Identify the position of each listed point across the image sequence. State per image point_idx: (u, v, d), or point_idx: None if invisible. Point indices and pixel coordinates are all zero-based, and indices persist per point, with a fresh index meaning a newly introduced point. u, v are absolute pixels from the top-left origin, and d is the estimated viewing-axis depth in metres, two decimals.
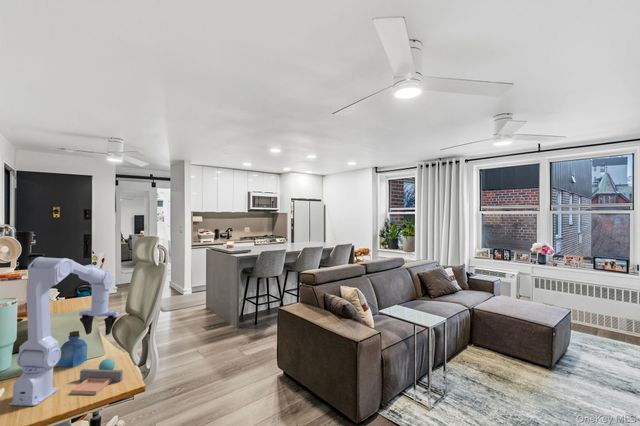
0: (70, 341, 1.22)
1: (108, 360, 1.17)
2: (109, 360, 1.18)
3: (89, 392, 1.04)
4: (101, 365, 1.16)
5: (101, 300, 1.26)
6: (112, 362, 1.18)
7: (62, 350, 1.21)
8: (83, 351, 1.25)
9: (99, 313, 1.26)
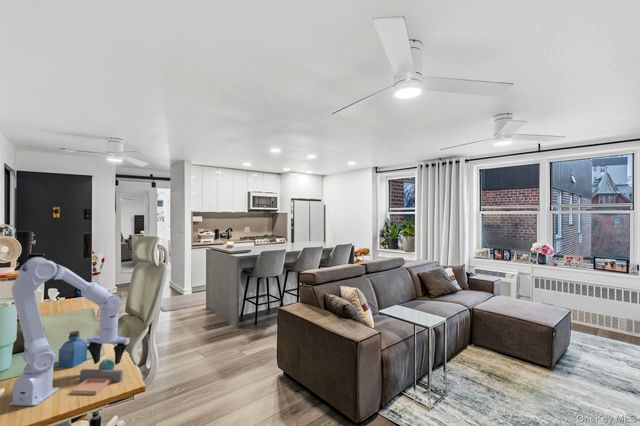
0: (70, 341, 1.22)
1: (108, 360, 1.17)
2: (109, 360, 1.18)
3: (89, 392, 1.04)
4: (101, 365, 1.16)
5: (104, 327, 1.15)
6: (112, 362, 1.18)
7: (62, 350, 1.21)
8: (83, 351, 1.25)
9: (108, 341, 1.15)
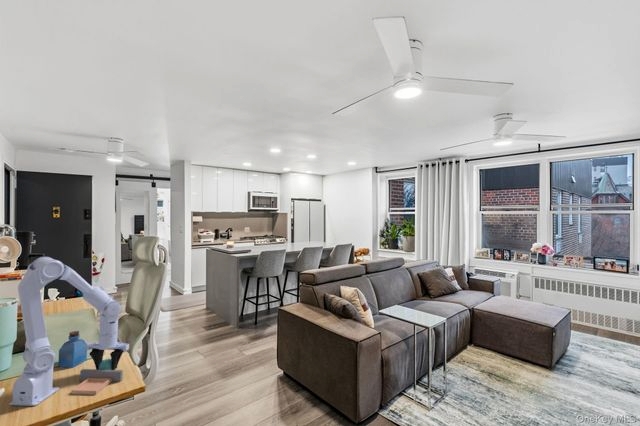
0: (70, 341, 1.22)
1: (108, 360, 1.17)
2: (109, 360, 1.18)
3: (89, 392, 1.04)
4: (101, 365, 1.16)
5: (104, 333, 1.15)
6: None
7: (62, 350, 1.21)
8: (83, 351, 1.25)
9: (108, 347, 1.15)
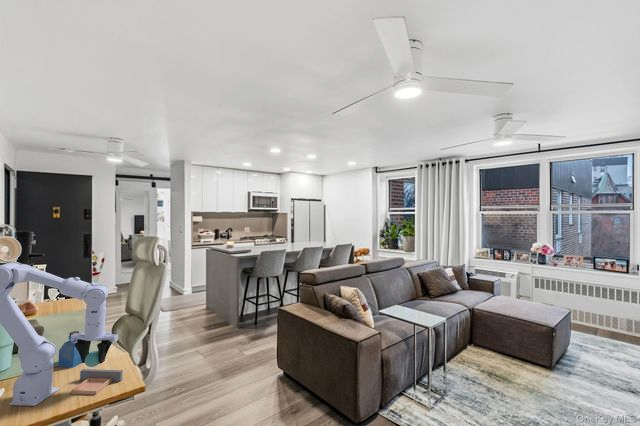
0: (70, 341, 1.22)
1: (95, 352, 1.08)
2: (96, 352, 1.08)
3: (89, 392, 1.04)
4: (87, 358, 1.06)
5: (86, 322, 1.05)
6: None
7: (62, 350, 1.21)
8: None
9: (94, 338, 1.05)
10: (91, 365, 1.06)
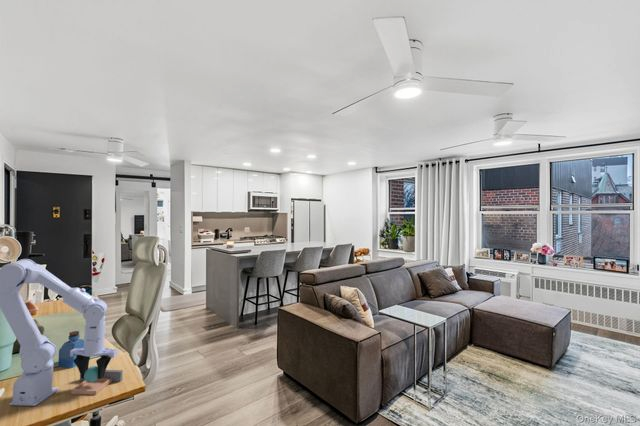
0: (70, 341, 1.22)
1: (94, 368, 1.08)
2: (95, 368, 1.08)
3: (89, 392, 1.04)
4: (86, 373, 1.06)
5: (86, 338, 1.05)
6: None
7: (62, 350, 1.21)
8: None
9: (93, 353, 1.05)
10: (90, 381, 1.06)
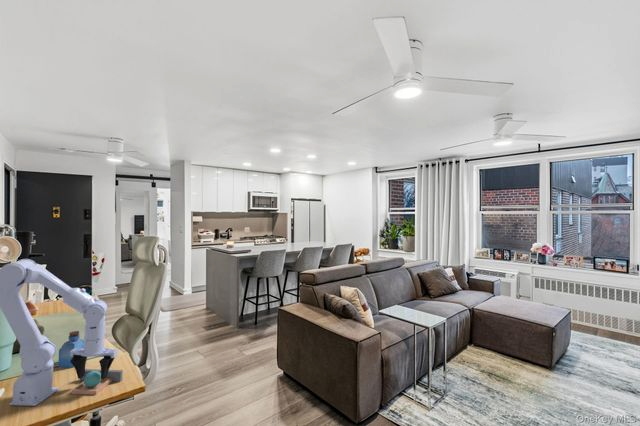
0: (70, 341, 1.22)
1: (94, 372, 1.08)
2: (95, 372, 1.08)
3: (89, 392, 1.04)
4: (86, 378, 1.06)
5: (86, 338, 1.05)
6: (99, 374, 1.08)
7: (62, 350, 1.21)
8: None
9: (93, 354, 1.05)
10: (90, 385, 1.06)
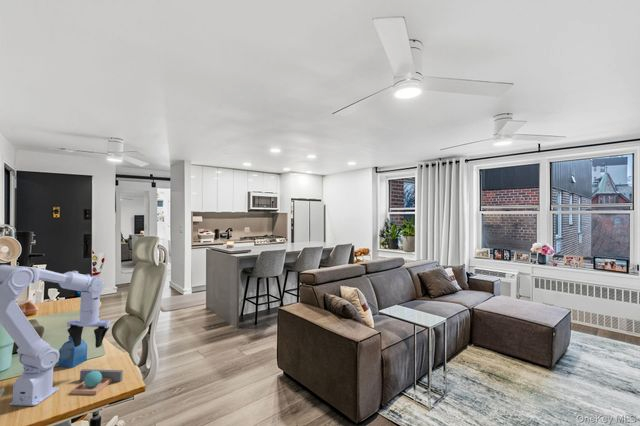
0: (70, 341, 1.22)
1: (95, 372, 1.08)
2: (96, 372, 1.08)
3: (89, 392, 1.04)
4: (87, 378, 1.06)
5: (88, 309, 1.14)
6: (99, 375, 1.08)
7: (62, 350, 1.21)
8: (83, 351, 1.25)
9: (88, 324, 1.14)
10: (90, 386, 1.06)
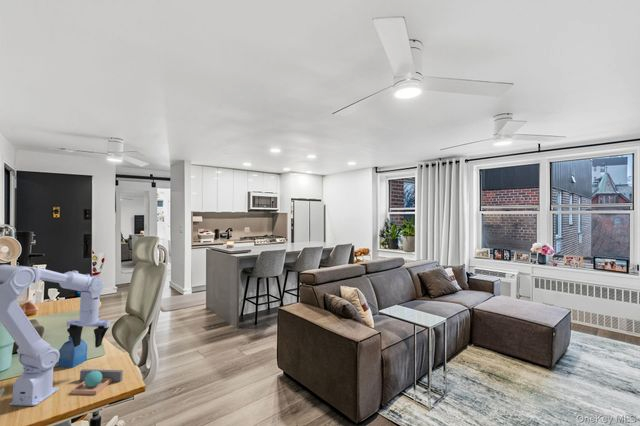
0: (70, 341, 1.22)
1: (95, 372, 1.08)
2: (96, 373, 1.08)
3: (89, 392, 1.04)
4: (87, 378, 1.06)
5: (88, 309, 1.15)
6: (100, 375, 1.08)
7: (62, 350, 1.21)
8: (83, 351, 1.25)
9: (88, 323, 1.15)
10: (90, 386, 1.06)
